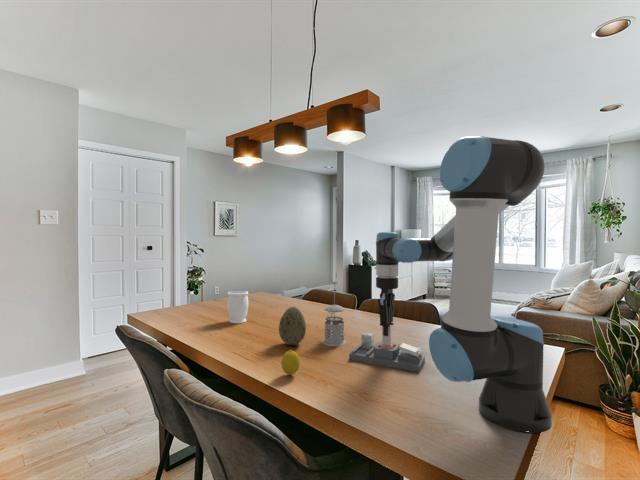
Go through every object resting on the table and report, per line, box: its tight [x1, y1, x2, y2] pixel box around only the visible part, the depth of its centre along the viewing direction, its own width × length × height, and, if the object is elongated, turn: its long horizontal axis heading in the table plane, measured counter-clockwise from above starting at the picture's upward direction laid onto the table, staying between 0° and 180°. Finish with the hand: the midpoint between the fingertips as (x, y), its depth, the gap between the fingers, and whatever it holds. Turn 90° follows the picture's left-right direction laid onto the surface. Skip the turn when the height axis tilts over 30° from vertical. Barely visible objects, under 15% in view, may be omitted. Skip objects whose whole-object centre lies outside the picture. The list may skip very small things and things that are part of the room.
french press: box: [322, 280, 347, 347], centre depth 135 cm, size 10×12×25 cm
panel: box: [348, 341, 426, 373], centre depth 114 cm, size 10×24×5 cm, turn 63°
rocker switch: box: [399, 342, 422, 357], centre depth 111 cm, size 4×6×2 cm
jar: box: [226, 290, 249, 324], centre depth 166 cm, size 11×10×15 cm
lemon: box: [281, 349, 300, 377], centre depth 102 cm, size 6×6×8 cm
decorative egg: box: [278, 306, 307, 346], centre depth 131 cm, size 11×11×15 cm
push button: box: [380, 343, 394, 350], centre depth 114 cm, size 4×4×3 cm
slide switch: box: [361, 332, 375, 349], centre depth 121 cm, size 3×4×5 cm
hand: (386, 344), depth 114 cm, fingers closed
